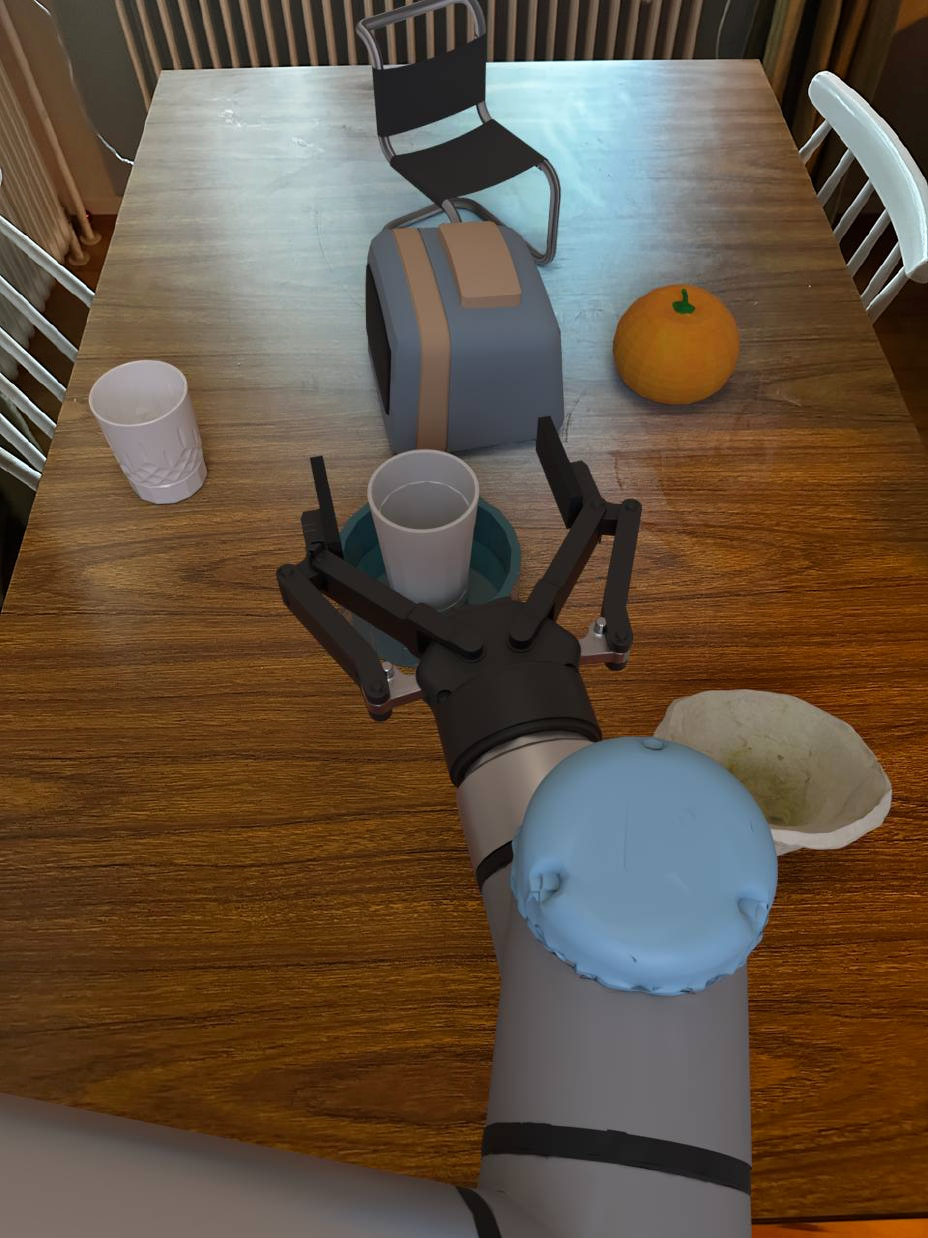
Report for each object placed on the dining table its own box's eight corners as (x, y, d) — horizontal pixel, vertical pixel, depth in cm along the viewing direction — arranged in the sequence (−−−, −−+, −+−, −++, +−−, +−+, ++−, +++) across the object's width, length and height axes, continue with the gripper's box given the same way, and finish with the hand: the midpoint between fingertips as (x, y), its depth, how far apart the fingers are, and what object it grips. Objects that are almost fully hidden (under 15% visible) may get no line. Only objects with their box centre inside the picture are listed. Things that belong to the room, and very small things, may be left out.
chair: (464, 196, 110) (463, -16, 92) (557, 272, 102) (576, 55, 84) (368, 235, 106) (348, 20, 88) (457, 317, 98) (455, 99, 80)
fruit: (628, 429, 89) (645, 342, 80) (593, 347, 95) (604, 259, 87) (748, 410, 90) (776, 323, 82) (704, 331, 96) (726, 243, 88)
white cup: (108, 475, 86) (70, 390, 77) (182, 432, 89) (153, 346, 80) (156, 524, 82) (121, 440, 74) (231, 478, 85) (206, 393, 77)
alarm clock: (366, 353, 95) (350, 205, 82) (525, 331, 97) (534, 183, 84) (393, 471, 86) (379, 326, 73) (568, 444, 88) (586, 298, 74)
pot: (355, 685, 73) (348, 650, 69) (327, 541, 81) (320, 502, 77) (539, 649, 75) (542, 612, 71) (493, 511, 83) (495, 471, 79)
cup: (411, 646, 74) (402, 549, 65) (362, 577, 78) (347, 476, 68) (497, 602, 77) (500, 502, 67) (445, 537, 81) (442, 434, 71)
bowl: (852, 735, 70) (903, 664, 62) (853, 921, 63) (911, 867, 54) (650, 696, 72) (673, 622, 64) (626, 872, 65) (649, 812, 56)
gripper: (278, 858, 46) (234, 531, 58) (757, 749, 49) (623, 460, 61) (249, 794, 40) (206, 443, 52) (798, 673, 43) (641, 368, 55)
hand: (432, 451), depth 57 cm, fingers open, 13 cm apart
